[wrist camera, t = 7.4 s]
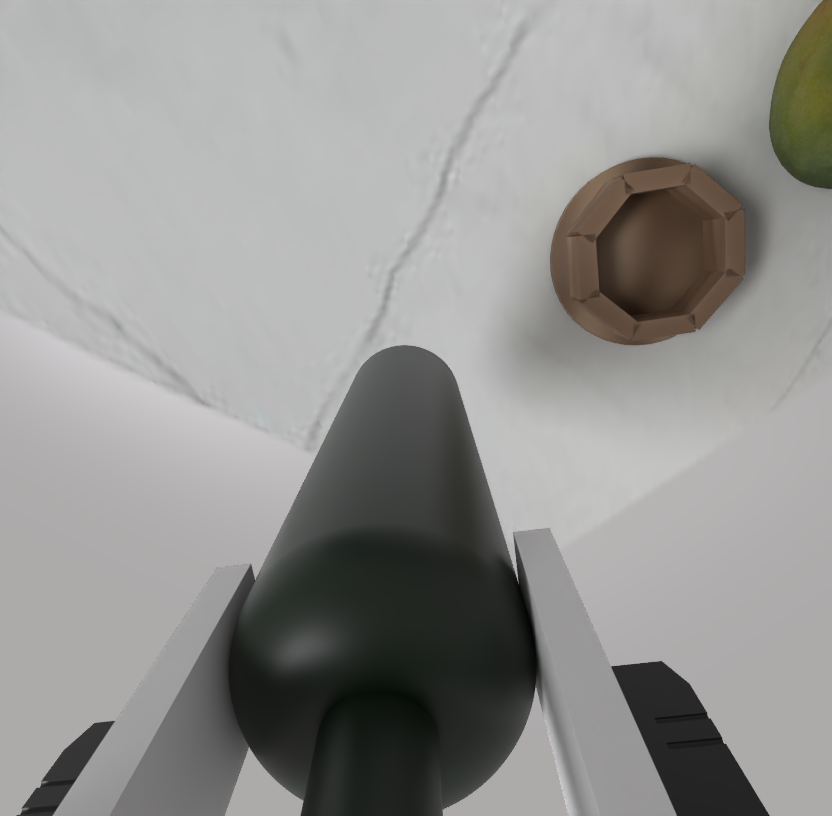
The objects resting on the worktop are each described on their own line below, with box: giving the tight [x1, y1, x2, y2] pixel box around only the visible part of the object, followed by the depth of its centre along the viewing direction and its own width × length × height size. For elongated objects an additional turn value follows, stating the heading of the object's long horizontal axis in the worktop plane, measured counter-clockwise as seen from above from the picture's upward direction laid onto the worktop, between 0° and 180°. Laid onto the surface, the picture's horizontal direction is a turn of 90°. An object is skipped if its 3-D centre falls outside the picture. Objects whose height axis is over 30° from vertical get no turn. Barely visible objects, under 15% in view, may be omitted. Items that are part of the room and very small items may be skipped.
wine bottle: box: [229, 345, 537, 816], centre depth 16 cm, size 6×6×30 cm
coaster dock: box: [550, 158, 745, 345], centre depth 38 cm, size 12×12×4 cm
